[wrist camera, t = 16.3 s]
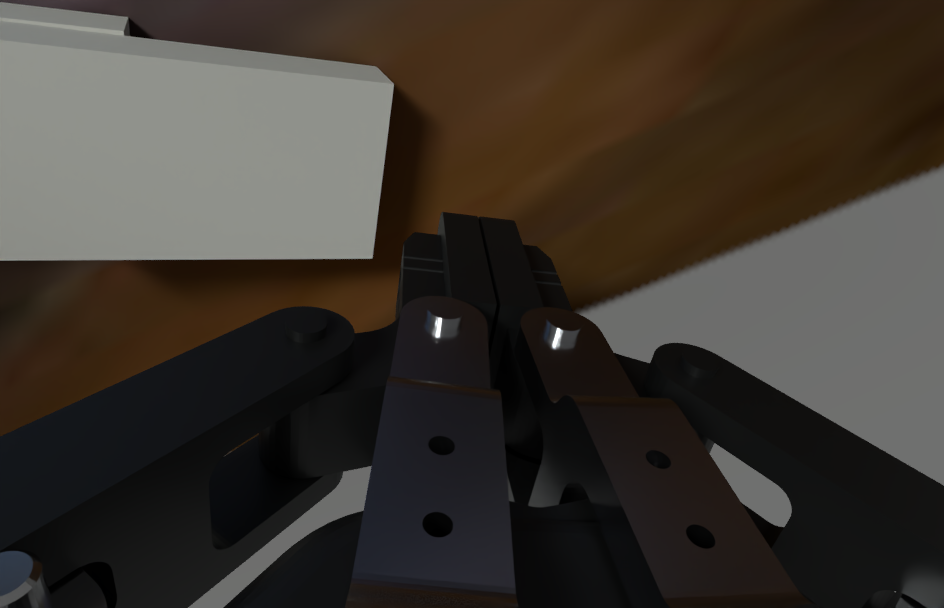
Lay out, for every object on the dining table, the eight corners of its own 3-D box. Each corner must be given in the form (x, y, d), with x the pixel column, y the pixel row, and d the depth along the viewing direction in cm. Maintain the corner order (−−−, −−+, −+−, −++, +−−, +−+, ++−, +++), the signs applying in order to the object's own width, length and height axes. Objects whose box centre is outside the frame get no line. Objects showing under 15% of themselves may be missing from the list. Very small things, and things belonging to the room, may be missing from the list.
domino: (358, 230, 19) (-5, 225, 15) (376, 66, 17) (-49, 14, 13) (372, 258, 18) (-23, 260, 14) (394, 83, 15) (-75, 32, 12)
